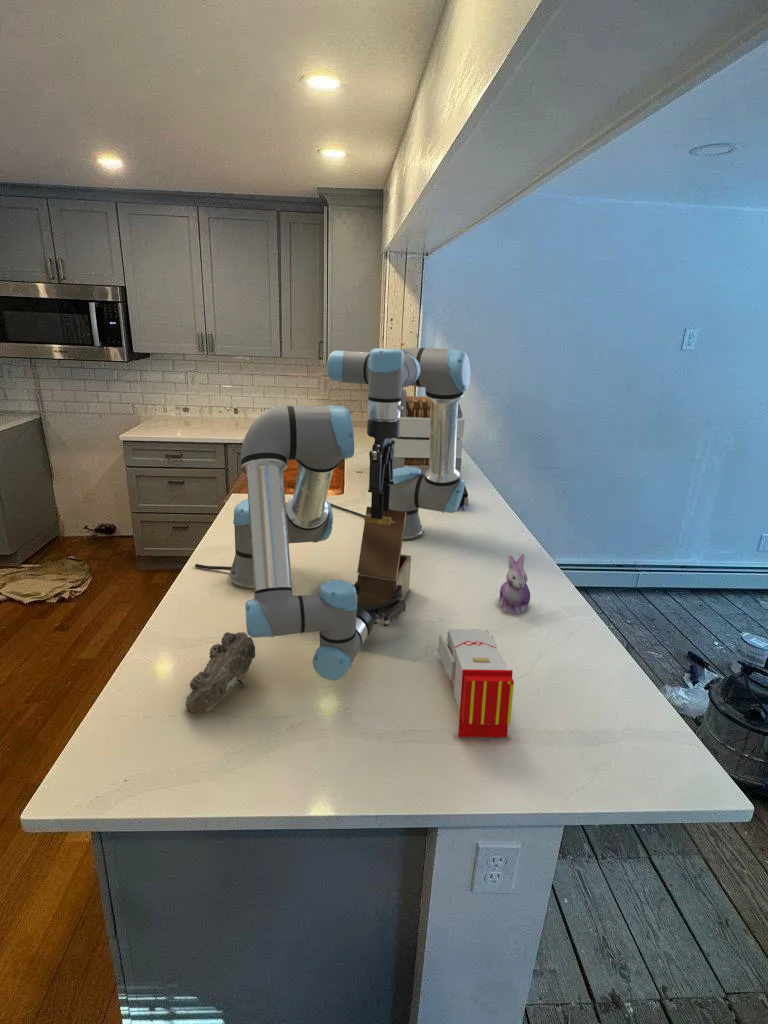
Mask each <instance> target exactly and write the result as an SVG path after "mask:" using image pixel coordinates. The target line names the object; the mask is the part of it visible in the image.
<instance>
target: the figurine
mask: <svg viewBox="0 0 768 1024" xmlns="http://www.w3.org/2000/svg"><path fill="white" fill-rule="evenodd" d="M507 561H508V562H507V563H508V571H507V573H506V576H505V578H506V581H505V582H504V583H503V584H501V586H500V588H499V589H500V590H499V598H498V605H499V607H500V608H501V609H502V611H503V612H504V613H507V614H511V615H518V614H519V613H525V612H526V611H527V609H528V607H529V604H530V601H531V591H530V588H529V585H528V584H527V582H528V575H527V571H526V570H525V568H524V567H525V566H524V563H525V554H524V553H521V554H520V555H519V557H518V558H517V560H515V559H514V557H513V556H512V555H511V554H509V555H508V556H507Z"/></svg>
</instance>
